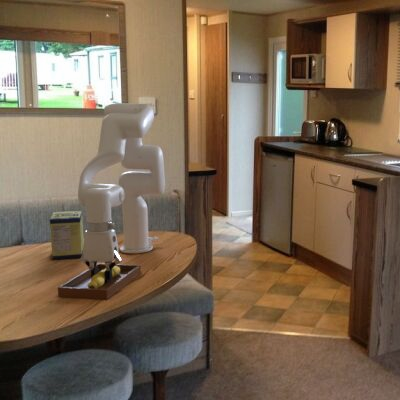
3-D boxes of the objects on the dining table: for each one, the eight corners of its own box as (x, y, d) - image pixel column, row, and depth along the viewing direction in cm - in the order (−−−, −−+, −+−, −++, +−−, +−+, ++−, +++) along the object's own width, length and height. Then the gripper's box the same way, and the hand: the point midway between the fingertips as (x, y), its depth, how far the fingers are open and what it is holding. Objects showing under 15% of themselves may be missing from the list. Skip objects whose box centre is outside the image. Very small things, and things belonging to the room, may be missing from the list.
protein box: (84, 247, 226) (82, 209, 223) (82, 258, 212) (80, 218, 209) (55, 249, 222) (53, 211, 219) (52, 260, 208) (49, 219, 205)
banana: (109, 271, 193) (111, 261, 192) (121, 274, 193) (123, 265, 192) (80, 290, 174) (82, 280, 173) (93, 294, 174) (95, 283, 173)
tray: (98, 271, 197) (97, 263, 196) (141, 273, 195) (140, 265, 195) (58, 296, 172) (57, 287, 171) (107, 299, 170) (106, 290, 170)
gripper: (129, 225, 183) (131, 278, 186) (80, 222, 184) (83, 276, 187) (119, 230, 175) (121, 286, 179) (68, 228, 177) (71, 283, 180)
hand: (101, 280), depth 183 cm, fingers closed on banana, 3 cm apart
